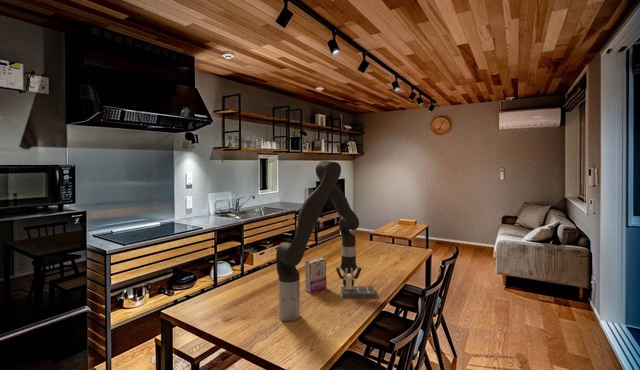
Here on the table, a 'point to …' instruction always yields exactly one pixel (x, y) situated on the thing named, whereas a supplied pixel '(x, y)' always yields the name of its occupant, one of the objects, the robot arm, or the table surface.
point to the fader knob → (348, 282)
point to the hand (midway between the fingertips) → (348, 286)
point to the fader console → (358, 292)
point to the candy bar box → (315, 274)
